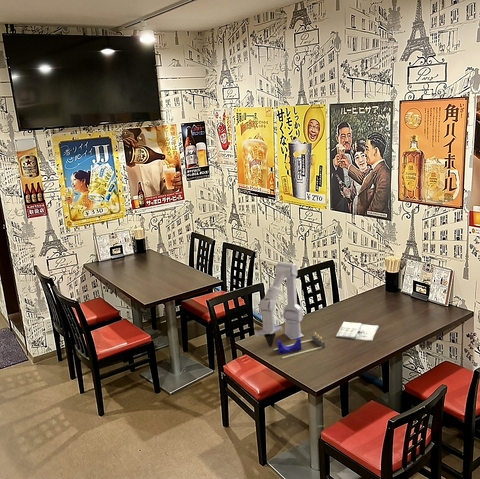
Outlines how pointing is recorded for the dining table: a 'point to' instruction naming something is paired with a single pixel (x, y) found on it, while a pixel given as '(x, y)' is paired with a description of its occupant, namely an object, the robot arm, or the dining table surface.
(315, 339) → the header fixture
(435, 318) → the dining table surface
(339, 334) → the open book
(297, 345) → the cable clip
